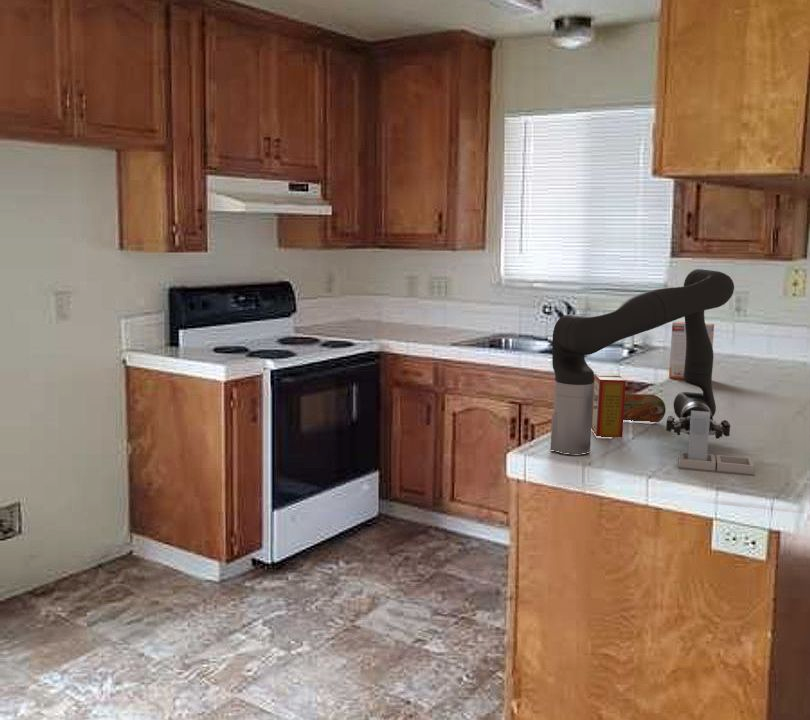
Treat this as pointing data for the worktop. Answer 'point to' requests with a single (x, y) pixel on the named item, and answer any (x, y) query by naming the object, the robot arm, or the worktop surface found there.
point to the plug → (699, 435)
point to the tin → (643, 407)
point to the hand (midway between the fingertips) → (698, 432)
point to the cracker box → (681, 348)
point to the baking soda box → (608, 405)
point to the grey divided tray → (718, 464)
